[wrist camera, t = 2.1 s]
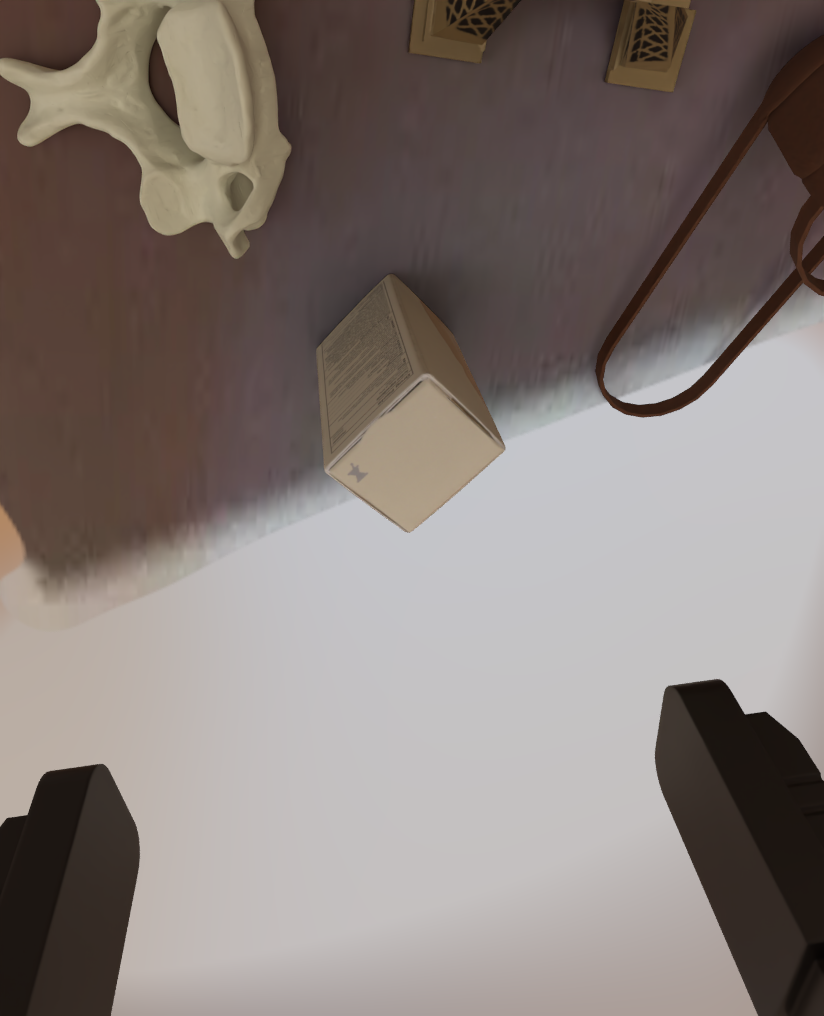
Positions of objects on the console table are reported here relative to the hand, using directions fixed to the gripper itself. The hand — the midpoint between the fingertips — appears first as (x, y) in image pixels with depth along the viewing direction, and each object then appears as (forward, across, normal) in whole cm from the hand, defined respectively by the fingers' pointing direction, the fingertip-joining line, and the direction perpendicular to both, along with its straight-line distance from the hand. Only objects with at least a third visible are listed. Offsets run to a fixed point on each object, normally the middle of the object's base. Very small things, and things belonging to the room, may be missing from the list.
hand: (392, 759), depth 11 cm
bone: (+22, +7, -7) cm, 24 cm away
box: (+27, -2, +5) cm, 27 cm away
